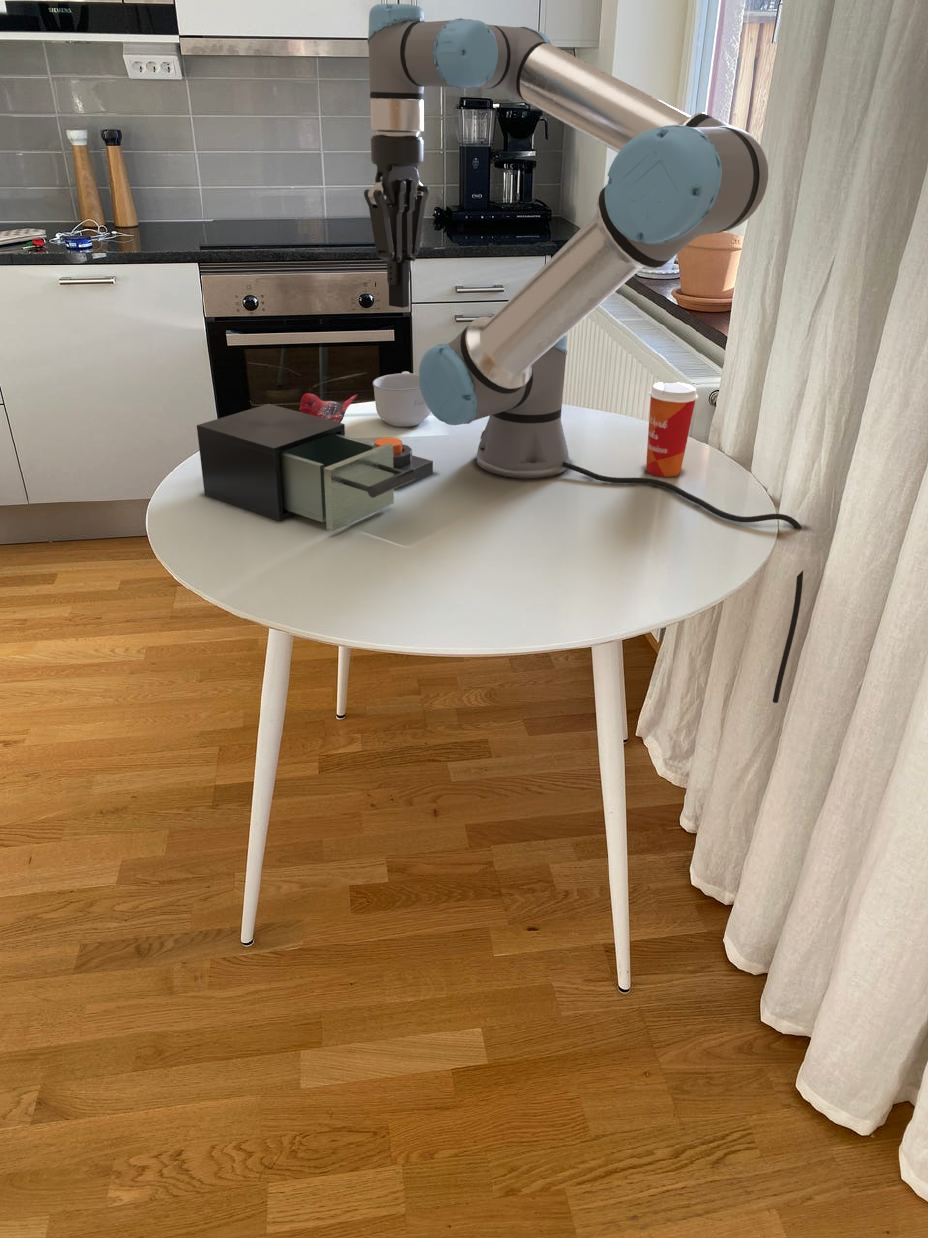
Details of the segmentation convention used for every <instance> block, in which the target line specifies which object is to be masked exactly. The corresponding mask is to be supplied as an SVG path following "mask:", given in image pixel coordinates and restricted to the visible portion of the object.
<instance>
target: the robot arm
mask: <svg viewBox="0 0 928 1238" xmlns="http://www.w3.org/2000/svg"><path fill="white" fill-rule="evenodd" d="M424 16H425V15H424V10H423V8H422V7H421V6H419V5H416V4H409V3H379V4H375V5H373V6H372V7H371V9H369V13H368V31H367V32H368V33H367V34H368V35H367V40H366V41H367V45H368V70H369V71H368V72H369V75H368V76H369V92H370V93H369V99H370V130H371V131H373V132H374V135H372V136H371V137H370V160H371V163H372V164H374V165H375V166H376V173H375V176H374V182H375V184H374V185H373V186H372V187H371V189H370V188H367V189H364V191H363V196H364V199H365V201H366V203H367V206H368V211H369V217H370V223H371V227H372V228H371V229H372V233H373V234H372V235H373V241H374V246H375V253H376V257H377V258H379V259H380V260H381V261H383V262H384V261H385V262H386V270H387V271H386V276H387V277H386V280H387V285H388V306H389V307H390V306H391V307H396V308H401V309H403V308H404V309H405V308H408V307H409V305H410V303H409V302H410V299H409V298H410V297H409V296H410V295H409V293H410V292H409V290H410V289H409V287H410V286H409V285H410V284H409V283H410V279H411V278H410V277H411V276H410V275H411V273H410V270H411V269H410V268H411V267H410V265H411V264H410V263H411V262H415V261H416V260H417V256H418V255H419V254H420V247H421V239H422V234H423V233H422V232H423V226H424V225H423V224H424V217H425V209H426V202H427V201H428V197H429V194H430V187H429V186H428V185H423V184H422V183H421V182H420V174H419V170H418V166H421V165H423V164H424V139H423V137H422V136H420V134H421V133H423V132H424V130H425V121H424V120H425V106H424V104H425V103H424V102H425V100H424V99H425V97H424V89H425V88H426V87H437V88H455V89H485V90H502V91H505V92H508V93H509V94H512V95H513V96H515V97H517V98H519V99H521V100H522V101H524V102H527V103H529V104H530V105H532V106H534V107H536V108H538V109H539V110H541V111H542V112H545V113H546V114H548V115H550V116H551V117H553V118H555V119H557V120H558V121H560V122H562V123H564V124H566V125H568V126H569V127H571V128H573V129H575V130H576V131H578V132H580V133H582V134H584V135H585V136H587V137H588V138H591V139H592V140H594V141H596V142H598V143H600V144H602V145H603V146H605V147H607V148H609V149H611V150H612V151H614V152H616V153H617V154H616V156H615V157H614V159H613V160H612V163H611V164H610V166H609V169H608V172H607V177H608V181H607V184H605V186H604V187H603V188H601V191H599V193H598V195H597V200H596V209H597V210H596V211H597V212H596V213H595V214H594V215H593V216H592V217H591V218H590V219H589V220H588V221H587V222H586V223H584V225H583V226H582V227H581V228H580V229H579V230H578V231H577V232H576V233H575V234H574V235H573V236H572V237H571V238H570V239H569V240H568V241H567V242H566V243H565V244H564V245H563V246H562V247H560V249H559V250H558V251H557V252H556V253H555V254H554V255H553V256H552V257H551V258H550V259H549V260H548V261H547V262H546V263H545V264H544V265H543V266H542V267H541V268H540V269H539V270H537V272H536V273H535V274H533V276H532V277H531V278H529V279H528V281H527V282H525V284H524V285H523V286H522V287H520V289H518V290H517V292H516V293H515V294H514V295H512V297H511V298H509V299H508V301H506V303H504V304H503V306H502V307H501V308H499V309H498V310H497V312H495V313H494V315H492V316H480V317H477V318H475V319H474V320H472V321H471V322H470V323H469V324H468V325H467V326H466V327H465V328H464V329H463V330H462V331H461V332H460V333H459V334H458V335H457V336H456V337H455V338H453V339H452V340H451V341H450V342H447V343H439V344H436V345H435V346H433V347H431V348H428V350H426V352H425V353H424V354H423V355H422V358H421V359H420V362H419V367H418V374H419V379H420V382H419V385H420V390H421V393H422V396H423V399H424V401H425V403H426V405H427V407H428V408H429V410H430V411H431V412H430V413H431V414H432V415H433V416H434V417H435V418H436V419H438V421H440V422H442V423H445V424H446V425H449V426H458V425H459V426H460V425H468V424H471V423H473V422H474V421H477V420H481V419H484V418H486V417H488V420H487V423H486V426H485V428H484V430H483V431H482V433H481V435H480V437H479V440H480V442H479V444H478V447H477V448H478V449H477V451H476V452H477V453H476V463H477V465H478V466H479V467H480V468H481V469H483V470H484V471H486V472H488V473H490V474H494V475H496V476H502V477H506V478H512V479H528V480H529V479H531V480H532V479H544V478H550V477H553V476H557V475H560V474H562V473H564V472H565V471H566V470H567V469H568V470H571V471H573V472H577V473H579V474H582V475H585V476H587V477H588V478H592V479H593V480H596V481H599V482H605V483H614V484H647V485H648V484H649V485H653V486H658V487H661V488H664V489H667V490H670V491H672V492H674V493H676V494H678V495H679V496H681V497H683V498H684V499H687V500H688V501H690V502H692V503H695V504H697V505H698V506H701V507H702V508H704V509H705V510H707V511H708V512H710V513H712V514H714V515H716V516H717V517H719V518H722V519H726V520H728V521H732V522H737V523H746V524H747V523H748V524H749V523H758V522H764V521H772V520H773V521H774V520H775V521H776V520H779V521H784V522H787V523H788V524H790V525H791V526H792V527H793V528H794V529H798V530H802V529H803V526H802V525H801V524H800V522H799V521H797V520H796V519H795V518H793V517H792V516H790V515H787V514H784V513H768V514H767V513H766V514H760V515H753V516H741V515H736V514H732V513H728V512H727V511H723V510H721V509H719V508H717V507H715V506H713V505H712V504H710V503H708V502H707V501H705V500H704V499H701V498H700V497H697V496H695V495H693V494H691V493H689V492H687V491H686V490H683V489H682V488H680V487H678V486H676V485H675V484H672V483H670V482H668V481H667V482H666V481H664V480H660V479H655V478H649V477H615V476H606V475H602V474H598V473H596V472H593V471H591V470H588V469H586V468H584V467H581V466H578V465H575V464H573V463H570V462H569V461H570V455H569V448H568V445H567V439H566V435H565V432H564V431H565V430H564V427H563V423H562V409H563V396H564V387H565V374H566V361H567V356H568V350H567V344H568V343H567V341H568V338H567V337H568V336H567V334H569V332H571V331H572V330H574V328H575V327H577V325H579V324H580V323H581V322H582V321H584V319H585V318H586V317H588V316H589V315H590V314H591V313H592V312H593V311H595V310H596V309H597V308H598V307H599V306H600V305H602V303H604V302H605V301H606V300H607V299H608V298H609V297H610V296H612V295H613V294H614V293H615V292H616V291H618V290H619V288H621V287H622V286H623V285H624V284H625V283H626V282H627V281H629V280H630V279H631V278H632V277H633V276H634V275H636V274H637V273H638V272H639V271H640V270H642V268H644V269H647V270H657V269H660V268H662V267H663V266H665V265H666V264H667V263H669V262H670V261H671V260H672V259H673V258H675V256H677V254H679V253H680V252H682V251H683V250H684V249H685V248H686V247H687V246H688V245H690V244H691V243H692V242H693V241H694V240H696V239H697V238H699V237H700V236H707V235H714V234H720V233H723V232H727V231H731V230H733V229H735V228H737V227H739V226H740V225H742V224H743V223H745V222H746V221H747V220H749V218H751V216H752V215H753V214H754V213H755V212H756V211H757V209H758V207H760V204H761V203H762V201H763V199H764V196H765V194H766V191H767V187H768V182H769V163H768V160H767V156H766V153H765V152H764V150H763V147H762V145H760V143H759V142H758V141H757V139H756V138H755V137H754V136H752V135H751V134H750V133H749V132H747V131H745V130H743V129H741V128H739V127H736V126H734V125H731V124H729V123H726V122H724V121H721V120H719V119H718V118H715V117H714V116H711V115H710V114H708V113H706V112H698V113H695V114H693V115H689V114H687V113H685V112H683V111H681V110H679V109H677V108H675V107H673V106H671V105H669V104H667V103H665V102H664V101H662V100H660V99H658V98H656V97H654V96H652V95H650V94H648V93H646V92H645V91H642V90H640V89H639V88H637V87H635V86H632V85H631V84H629V83H628V82H625V81H623V80H622V79H619V78H617V77H615V76H613V75H611V74H609V73H608V72H606V71H603V70H601V69H599V68H597V67H596V66H594V65H592V64H590V63H588V62H586V61H584V60H582V59H581V58H578V57H576V56H575V55H572V54H571V53H568V52H567V51H566V50H565V51H564V50H563V49H561V48H559V47H557V46H555V45H553V44H552V42H551V41H550V39H549V38H548V36H547V34H545V33H544V32H541V31H539V30H536V29H532V28H530V27H528V26H527V27H526V26H508V25H507V26H506V25H495V24H487V23H485V22H483V21H482V20H477V19H470V18H461V17H460V18H454V19H450V20H449V19H447V20H435V21H425V19H424V18H425V17H424ZM803 581H804V570H802V571H800V573H798V575H797V576H796V581H795V582H796V584H795V592H794V593H795V594H794V602H793V608H792V615H791V619H790V624H789V628H788V633H787V638H786V641H785V645H784V649H783V654H782V657H781V661H780V665H779V669H778V673H777V678H776V683H775V687H774V690H773V691H774V692H773V696H772V703H774V704H778V703H779V700H780V694H781V689H782V684H783V680H784V676H785V672H786V668H787V664H788V661H789V656H790V653H791V648H792V644H793V641H794V637H795V632H796V628H797V623H798V618H799V614H800V607H801V601H802V594H803Z"/></svg>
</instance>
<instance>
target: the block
mask: <svg viewBox="0 0 928 1238" xmlns="http://www.w3.org/2000/svg"><path fill="white" fill-rule="evenodd" d="M393 468H395V469H399V470H402V471H407V470H409V469H413V470H414V471H415V472H416V479H415V480H413V481H411V482H408V483H406V484H404V485H402V486H399V487H397V488H395V489H394V490H399V489H402V488H405V487H406V486H408V485H411V484H413V483H415V482H417V481H420V480H422V479H425V478H426V477H428V476H431V475H433V474H434V460H430V459H427V458H423V457H419V456H416V455H413V448H411V447H410V446H409V445H407V444H403V443H402V453H400V454H398V455H393ZM395 475H397V474H393V476H395Z"/></svg>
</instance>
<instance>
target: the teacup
mask: <svg viewBox="0 0 928 1238" xmlns="http://www.w3.org/2000/svg"><path fill="white" fill-rule="evenodd" d="M419 382H420V379H419V373H414V372H413V373H411V372H409V371H402V372H401V373H393V374H392V373H391V374H386V375H382V376H379V377H376V378H375V379H374V380H373V381H372V386H373V390H374V391H373V393H374V394H373V395H374V403H375V410H376V413H377V414H378V417H379V418H380V419H381V420H383V421H385V423H387V425H390V426H392V427H398V428H399V427H402V428H405V427H406V428H407V427H412V426H413V427H414V426H418V425H420V424H422V423H423V422H424V421H425V419H427V418H428V417H429V415H431V413H432V412H431V411H430V410H429V408H428V407H427V405H426V403H425V401H424V399H423V396H422V393H421V390H420V385H419Z"/></svg>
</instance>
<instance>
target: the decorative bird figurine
mask: <svg viewBox="0 0 928 1238" xmlns="http://www.w3.org/2000/svg"><path fill="white" fill-rule="evenodd" d="M357 397H358V394H357V393H356V394H354V395H352V396H351V397H350V398H348V399H347V400H345V401H344V402H343V403H341V402H337V401H332V400H321V398H319V396H317V395H316V394H314V393H310V392H306V393H304V394H303V395H302V397H301V399H300V406H299V409H298V410H299V411H298V412H301V413H305V414H309V415H313V416H316V417H320V418H324V419H328V420H331V421H335V422H339V423H342V421H343V419H344V417H345V414H346V411H347V410H348V408H349V407H350V405H351V404H352V403H353V402H354V401H355V399H356V398H357Z"/></svg>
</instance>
